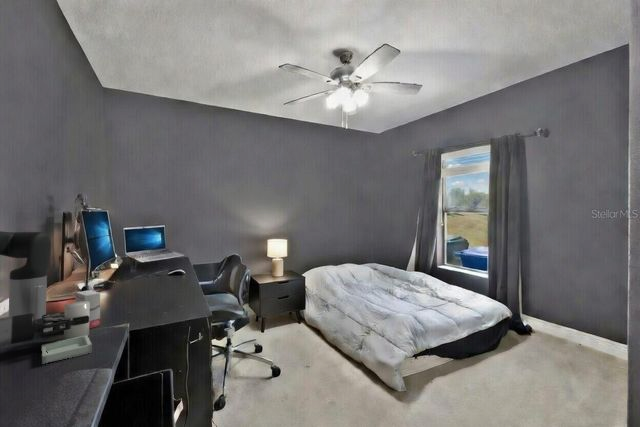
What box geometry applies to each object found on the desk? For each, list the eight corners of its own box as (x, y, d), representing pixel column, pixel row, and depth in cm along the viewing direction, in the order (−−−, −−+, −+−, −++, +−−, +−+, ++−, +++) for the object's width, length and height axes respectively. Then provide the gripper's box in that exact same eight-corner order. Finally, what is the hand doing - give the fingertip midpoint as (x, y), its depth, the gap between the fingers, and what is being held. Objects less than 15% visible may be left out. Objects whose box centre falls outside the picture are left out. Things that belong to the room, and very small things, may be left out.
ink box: (100, 325, 101) (101, 292, 101) (83, 330, 97) (84, 295, 97) (90, 321, 106) (91, 289, 106) (74, 325, 101) (74, 292, 102)
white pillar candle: (62, 339, 89) (63, 304, 89) (87, 333, 94) (87, 300, 94) (65, 345, 85) (65, 308, 85) (90, 339, 89) (91, 303, 90)
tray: (41, 352, 80) (41, 344, 80) (87, 342, 87) (87, 334, 87) (42, 365, 73) (42, 356, 73) (91, 352, 80) (92, 344, 80)
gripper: (9, 323, 74) (91, 309, 86) (11, 311, 84) (84, 300, 96) (8, 352, 74) (90, 334, 86) (11, 336, 84) (84, 322, 96)
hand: (87, 316), depth 91 cm, fingers closed on white pillar candle, 6 cm apart
